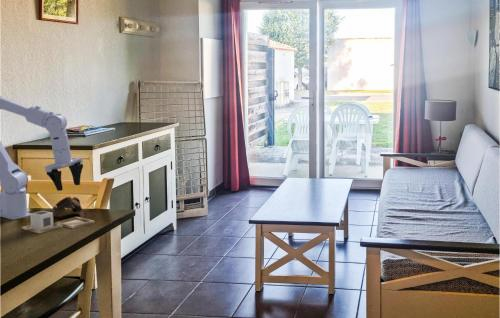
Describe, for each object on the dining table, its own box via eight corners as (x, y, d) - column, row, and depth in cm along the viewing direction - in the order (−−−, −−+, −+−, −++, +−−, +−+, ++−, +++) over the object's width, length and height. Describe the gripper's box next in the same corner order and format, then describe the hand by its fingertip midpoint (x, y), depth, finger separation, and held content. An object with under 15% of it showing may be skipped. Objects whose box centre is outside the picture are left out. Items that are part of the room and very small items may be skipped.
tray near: (21, 229, 204) (21, 226, 204) (45, 223, 211) (44, 221, 211) (39, 234, 199) (39, 231, 198) (62, 228, 206) (62, 225, 206)
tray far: (55, 225, 210) (55, 222, 209) (76, 219, 217) (76, 216, 217) (73, 229, 204) (72, 226, 204) (94, 223, 212) (94, 220, 212)
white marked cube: (31, 228, 204) (30, 213, 203) (43, 225, 208) (43, 210, 207) (40, 231, 201) (40, 215, 200) (53, 227, 205) (53, 212, 204)
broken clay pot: (81, 222, 216) (68, 203, 213) (59, 232, 218) (45, 213, 215) (92, 205, 227) (79, 187, 224) (70, 215, 229) (57, 197, 226)
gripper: (51, 153, 208) (59, 192, 210) (85, 144, 220) (92, 182, 222) (38, 154, 212) (46, 192, 214) (72, 145, 224) (79, 182, 226)
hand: (68, 187), depth 218 cm, fingers open, 7 cm apart
